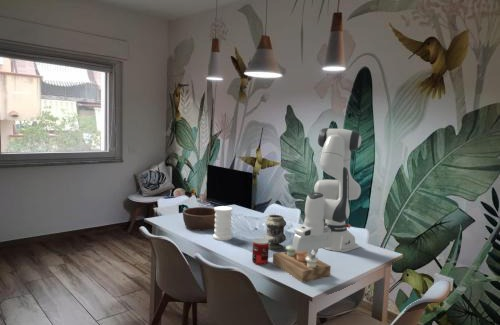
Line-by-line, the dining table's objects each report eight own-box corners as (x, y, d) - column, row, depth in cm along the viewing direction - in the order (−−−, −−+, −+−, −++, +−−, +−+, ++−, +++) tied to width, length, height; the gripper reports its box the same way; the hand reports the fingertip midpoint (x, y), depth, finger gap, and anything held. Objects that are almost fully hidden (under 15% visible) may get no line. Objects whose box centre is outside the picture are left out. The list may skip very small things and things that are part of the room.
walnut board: (298, 258, 187) (299, 249, 186) (329, 276, 166) (330, 265, 165) (272, 263, 179) (273, 253, 178) (302, 282, 158) (302, 271, 157)
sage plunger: (292, 259, 183) (292, 244, 182) (298, 263, 178) (299, 248, 177) (282, 260, 180) (283, 246, 179) (289, 264, 175) (290, 249, 175)
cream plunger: (311, 270, 169) (312, 255, 168) (319, 275, 164) (320, 259, 163) (302, 272, 166) (303, 257, 166) (309, 277, 161) (310, 261, 161)
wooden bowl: (174, 225, 237) (174, 210, 236) (202, 219, 256) (203, 205, 255) (199, 234, 221) (200, 218, 220) (228, 226, 240) (228, 211, 239)
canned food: (252, 258, 184) (253, 237, 183) (268, 259, 183) (269, 238, 182) (251, 264, 176) (252, 242, 175) (267, 265, 176) (268, 243, 175)
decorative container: (227, 241, 209) (228, 211, 208) (209, 238, 213) (210, 209, 211) (235, 236, 220) (236, 207, 218) (217, 233, 224) (218, 205, 222)
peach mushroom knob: (301, 262, 176) (302, 247, 175) (308, 266, 171) (309, 251, 170) (292, 264, 173) (293, 249, 172) (299, 268, 168) (300, 253, 168)
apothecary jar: (278, 242, 211) (280, 212, 209) (289, 249, 200) (291, 217, 198) (260, 244, 206) (261, 214, 204) (270, 251, 195) (271, 219, 193)
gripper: (326, 224, 171) (324, 252, 172) (291, 229, 161) (289, 259, 162) (335, 228, 165) (333, 257, 167) (299, 233, 155) (298, 263, 157)
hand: (311, 258), depth 164 cm, fingers closed, pressing on cream plunger
